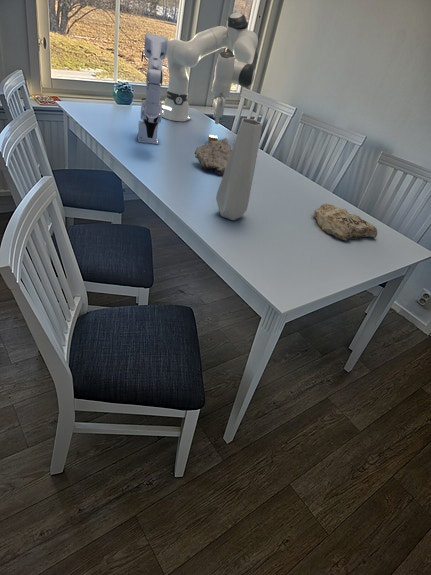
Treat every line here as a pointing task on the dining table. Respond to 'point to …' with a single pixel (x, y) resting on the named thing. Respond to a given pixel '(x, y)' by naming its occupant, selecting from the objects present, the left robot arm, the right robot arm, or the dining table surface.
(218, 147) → the rock
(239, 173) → the vase
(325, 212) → the stone
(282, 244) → the dining table surface
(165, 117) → the right robot arm
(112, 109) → the dining table surface
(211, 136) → the block
